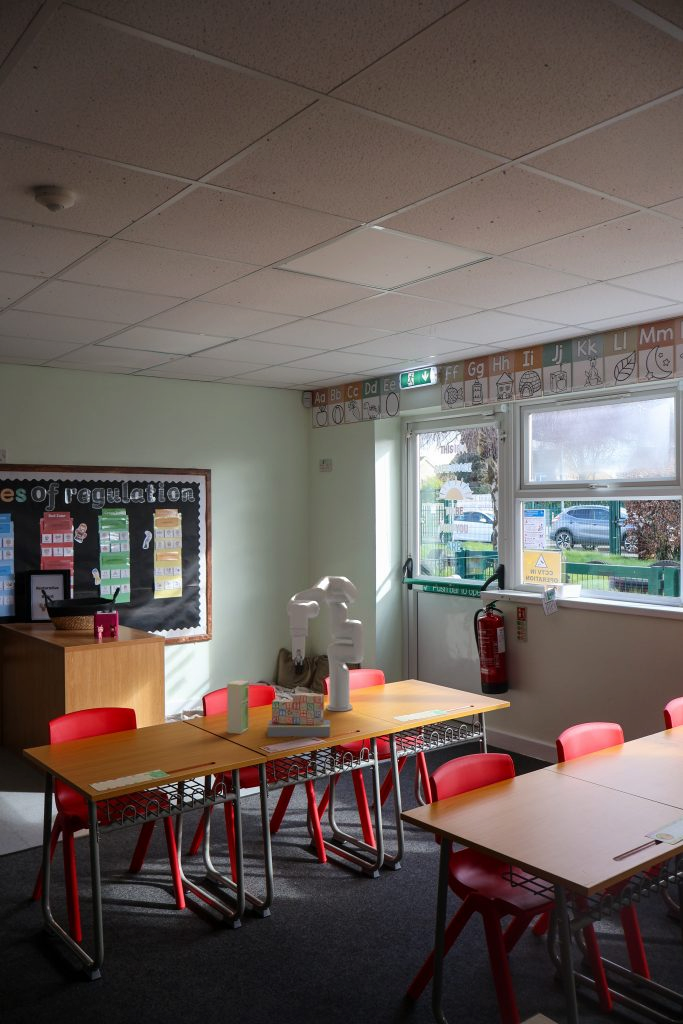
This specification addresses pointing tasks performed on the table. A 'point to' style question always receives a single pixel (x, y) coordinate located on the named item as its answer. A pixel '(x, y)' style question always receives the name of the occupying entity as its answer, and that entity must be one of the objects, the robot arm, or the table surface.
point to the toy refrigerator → (237, 706)
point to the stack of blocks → (299, 709)
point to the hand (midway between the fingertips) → (299, 672)
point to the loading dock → (298, 730)
